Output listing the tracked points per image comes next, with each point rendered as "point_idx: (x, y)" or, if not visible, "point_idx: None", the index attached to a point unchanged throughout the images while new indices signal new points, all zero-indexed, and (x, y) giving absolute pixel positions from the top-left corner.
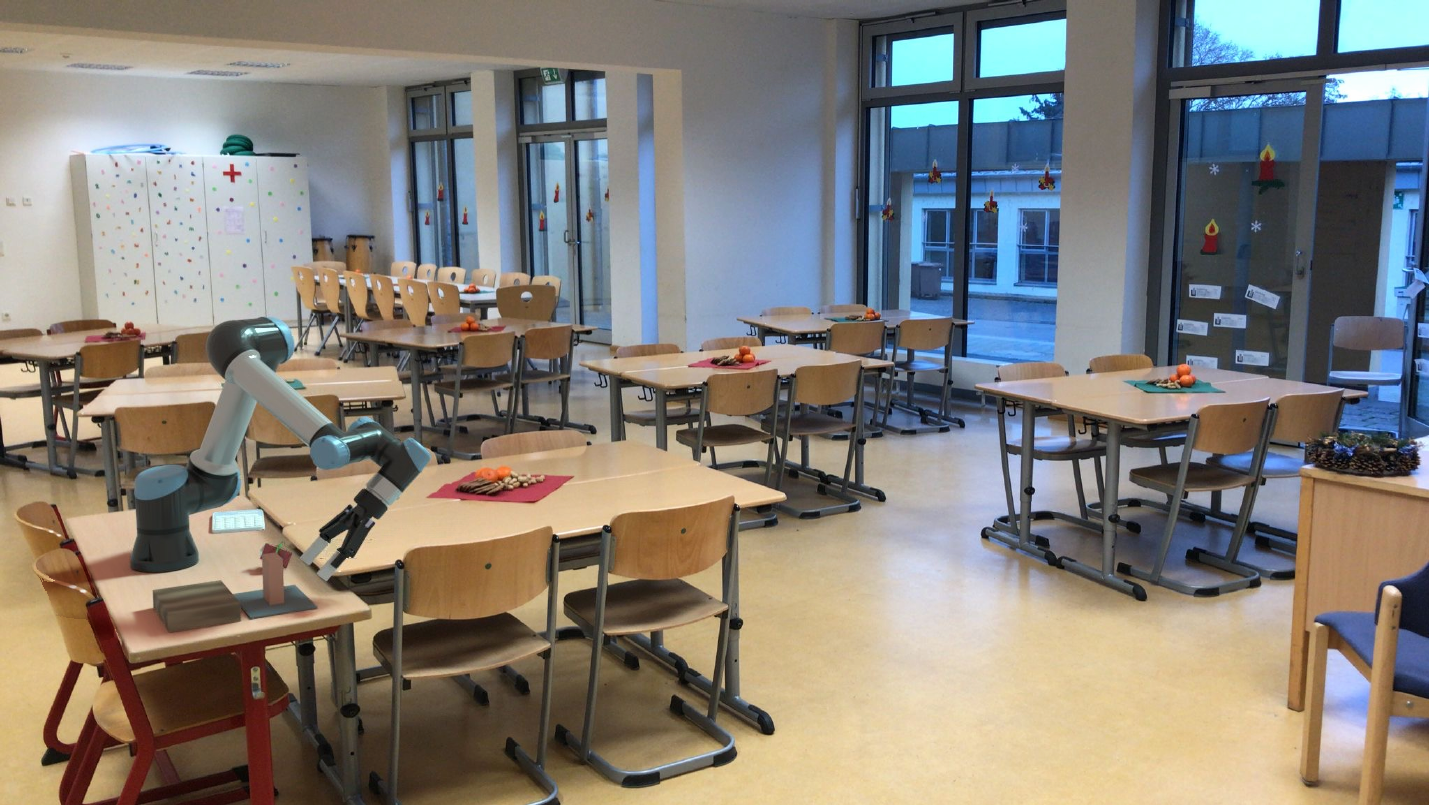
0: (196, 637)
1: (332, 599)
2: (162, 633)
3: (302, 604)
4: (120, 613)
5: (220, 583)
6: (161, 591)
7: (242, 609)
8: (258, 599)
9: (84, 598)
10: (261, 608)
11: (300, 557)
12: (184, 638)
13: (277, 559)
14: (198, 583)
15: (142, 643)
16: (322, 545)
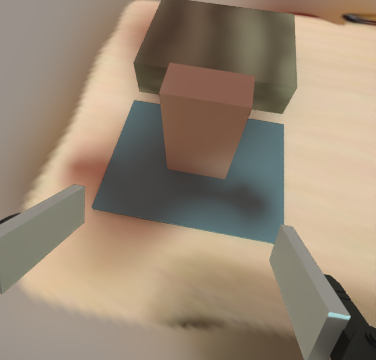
0: (122, 38)
1: (124, 269)
2: None
3: (130, 190)
4: None
5: (274, 80)
6: (279, 18)
7: None
8: None
9: (366, 13)
10: None
11: (289, 227)
12: (130, 30)
13: (168, 82)
14: (295, 58)
15: (150, 4)
16: (301, 321)
